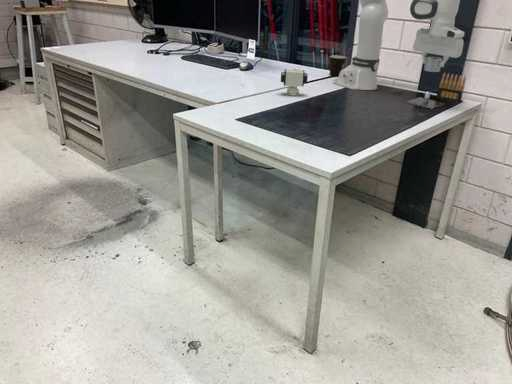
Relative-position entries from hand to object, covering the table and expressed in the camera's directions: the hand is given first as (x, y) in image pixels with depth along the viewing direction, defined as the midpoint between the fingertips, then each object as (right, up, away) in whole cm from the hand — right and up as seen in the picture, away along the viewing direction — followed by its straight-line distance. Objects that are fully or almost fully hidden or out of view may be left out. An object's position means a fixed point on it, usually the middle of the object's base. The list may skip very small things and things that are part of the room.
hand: (432, 65), depth 176 cm
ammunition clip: (+14, -11, +17) cm, 25 cm away
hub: (0, -2, +1) cm, 2 cm away
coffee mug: (-33, +10, +52) cm, 62 cm away
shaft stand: (0, -15, +9) cm, 17 cm away
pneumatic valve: (-59, -10, +14) cm, 61 cm away
